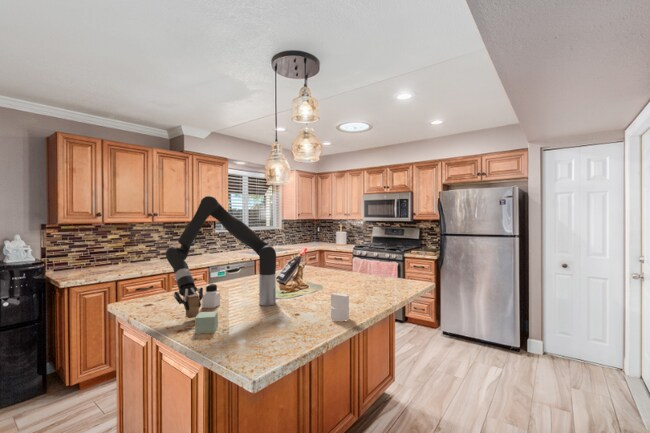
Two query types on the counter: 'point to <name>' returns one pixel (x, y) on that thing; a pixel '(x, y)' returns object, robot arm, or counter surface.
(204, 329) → the sage slab lower
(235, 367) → the counter surface
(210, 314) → the sage slab upper
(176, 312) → the counter surface
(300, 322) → the counter surface
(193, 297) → the walnut block
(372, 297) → the counter surface
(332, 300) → the light grey block
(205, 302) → the medicine bottle
